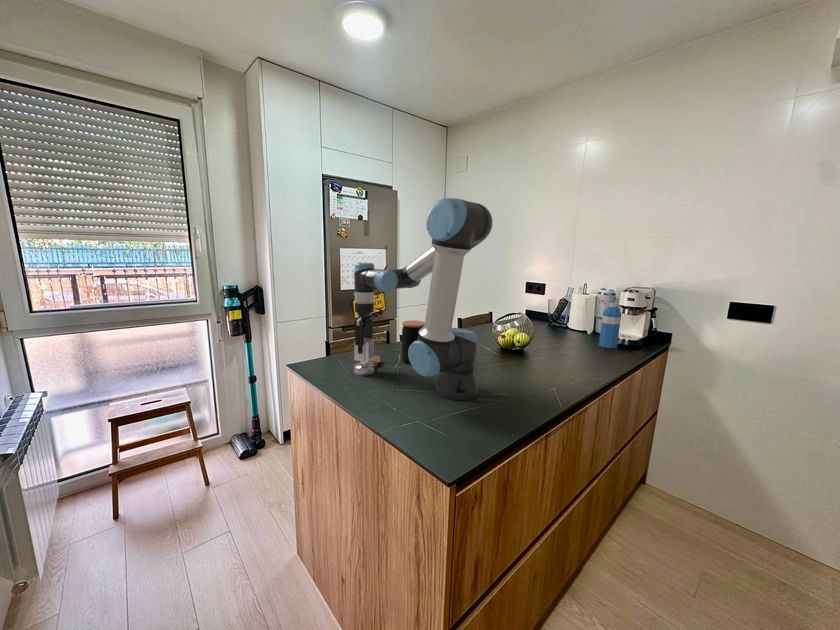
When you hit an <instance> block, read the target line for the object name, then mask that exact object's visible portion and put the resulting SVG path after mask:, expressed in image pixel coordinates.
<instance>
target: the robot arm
mask: <svg viewBox="0 0 840 630" xmlns="http://www.w3.org/2000/svg"><path fill="white" fill-rule="evenodd" d="M429 209H430V210H429V211H428V213H427V217H426V224H425V226H426V230H427V233H428V236H430V237H431V247H430V248H428V249H427V250H426V251H424V252H423V253H422V254H420V255H419V256H417V257H416V258H415V259H414V260H413V261H411V262H410V263H408V264H407V265H406V266H404V267H403V268H393V269H392V268H390V269H387V268H386V269H381V268H378V269H377V268H375V263H372V262H356V263H354V273H353V277H354V278H353V279H354V293H353V296H354V312H355V313H357V314H358V317H357V319H355V320H354V327H355V328H354V329H355V331H354V341H355V345H358V361H357V362H360V361H365V345H364V338H373V337H374V332H373V330H374V329H373V328H374V327H373V322H374V321H373V320H374V319H373V318H374V315H373V314H371V313H374V311H375V304H374V302H375V290H378V291H383V292H391V291H393V290H397V289H398V290H399V289H412V288H415V287H418V286H420V284H421V281H422V279H424V278H425V277H427V276H428V275H430V274H431V279H430V287H429V293H428V294H429V295H428V300H427V307H426V311H425V312H426V313H425V320H424V322H425V325H424V327H423V328H421V329H420V330H419V333H418V340H417V341H414V342H413V343H412V344H411V345H410V347H409V350H408V356H409V360H410V363H411V364H410V365H411V366H412V368H413V370H414V371H415V372H416V373H417V374H418V375H420V376H423V377H431V376H437V375H438V374H439V377H438V378H437V382H436V386H435V391H436V393H437V394H438V396H441V397H443V398H445V399H450V400H454V401H466V400H467V401H468V400H472V399H474V398H476V397H477V396H478V394H479V385H478V381H477V377H476V373H475V369H476V353H477V352H476V351H477V344H478V343H477V333H475V331H473V330H469V329H465V328H459V327H453V322H454V316H455V311H456V306H457V299H458V294H459V287H460V283H461V276H462V271H463V266H464V265H463V264H464V261H465V259H464V258H465V256H466V255H467V254H468V253H470V252H471V250H472V249H474V248H475V247H477V246H478V245H480V244H481V243H483V241H485V240H486V239H487V237H489V235H490V233H491V232H492V228H493V217H492V213H491V212H490V210H489V209H488V208H487V207H486V206H484V205H483V204H481V203H478V202H472V201H469V200H464V199H461V198H457V197H456V198H455V197H446V198H445V197H444V198H442V199H439V200H437V201H436V202H435V203H434V204H433V205H432V207H430V208H429Z"/></svg>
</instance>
